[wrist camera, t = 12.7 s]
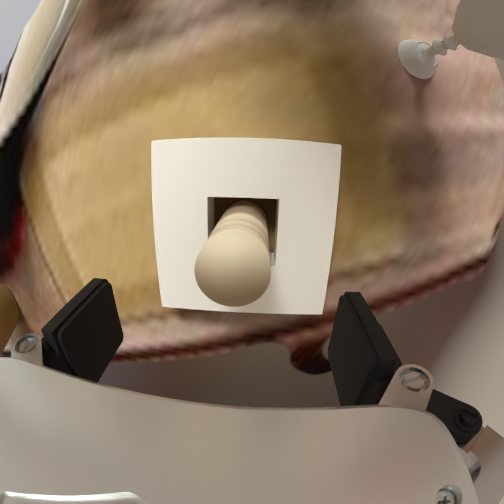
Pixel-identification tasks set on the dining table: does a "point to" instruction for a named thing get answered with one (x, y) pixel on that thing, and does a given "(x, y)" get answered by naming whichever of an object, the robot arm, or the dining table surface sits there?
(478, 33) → the chalice
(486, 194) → the dining table surface
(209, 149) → the socket
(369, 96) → the dining table surface
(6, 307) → the plant pot
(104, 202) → the dining table surface
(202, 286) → the peg
